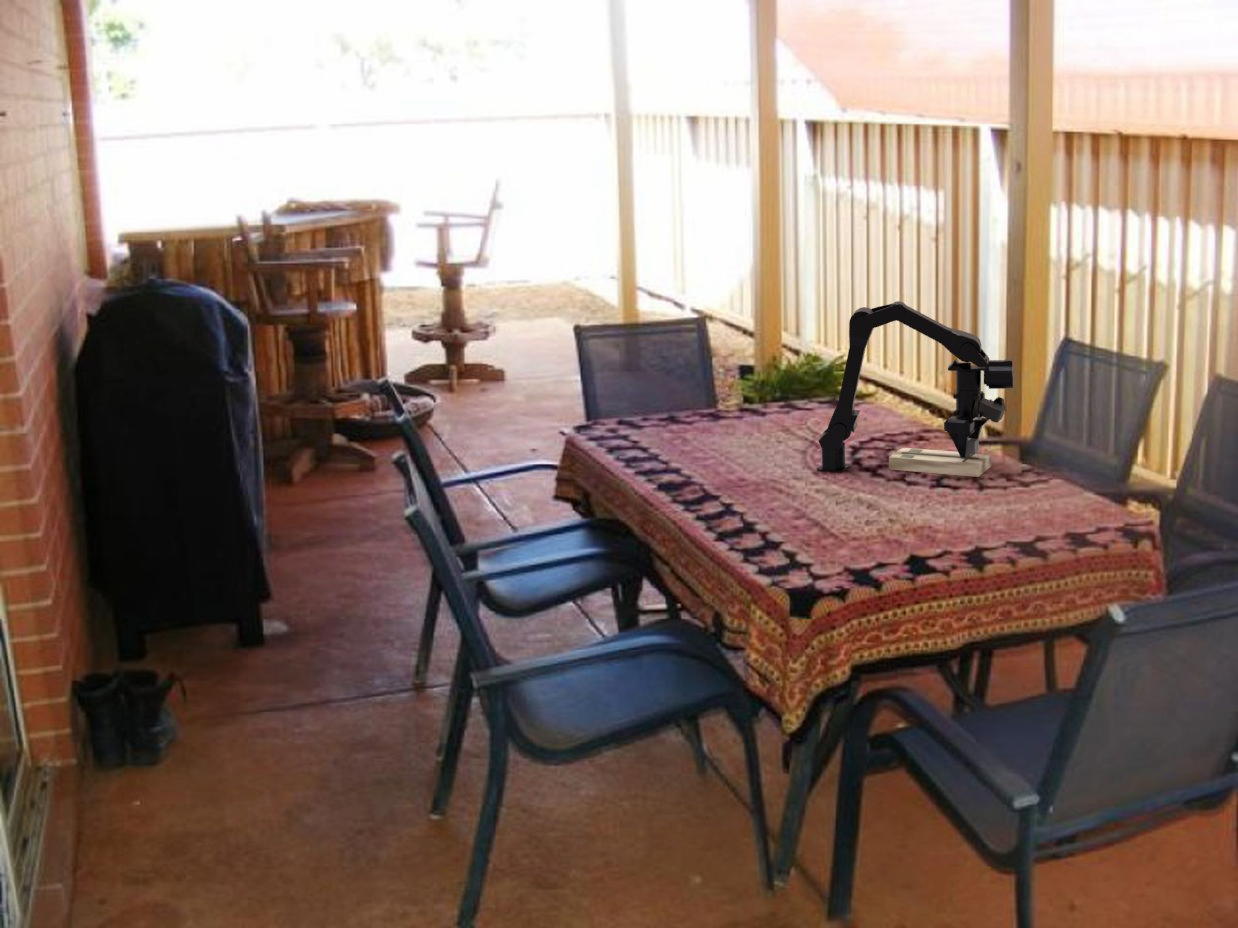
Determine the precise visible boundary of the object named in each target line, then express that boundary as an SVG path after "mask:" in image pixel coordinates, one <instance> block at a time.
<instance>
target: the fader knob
mask: <svg viewBox="0 0 1238 928" xmlns="http://www.w3.org/2000/svg"><path fill="white" fill-rule="evenodd" d="M979 440H980V439H975V438H969V439H968V445H967V452H966V457H971V454H975V453H978V452H979V450H980V449H979V448H980V447H979Z"/></svg>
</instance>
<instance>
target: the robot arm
mask: <svg viewBox="0 0 1238 928" xmlns="http://www.w3.org/2000/svg"><path fill="white" fill-rule="evenodd" d="M896 321H897V322H899V323H901V324H902V325H905V326H907V327H909V328H911V329H913V330H915V331H916V332H918V333H920V334H922V335H924V336H926V337H927V338H930V339H932V340H933V341H935V342H937V343H939V344H941V346H943V347H944V348H945V349H946V350H947V351H948V352H949V353H950V354H951V355H953V356H954V357H956V358H954V359H953V361H952V362H951V363H950V364H949V365H948V367H947V371H948V372H950V371H951V372H955V392H954V393H953V399H955V409H954V410H953V415H952V416H950V417H948V418H947V419H946V420H945V421H944V422H943V431H944V432H946V433H947V434H948V435H949V437H950V439H951V441H952V443H953V445H954V446H955V448H956V450H957V452H958V453H959V455H960V457H966V452H967V445H968V439H969V438H975V439H979V438H980V436H981V431H982V429H983V426H984V425H985V424H986V423H988V421H991V422H993V423H999V422H1000V421H1002V419H1003V416H1004V414H1005V413H1006V411H1007V405H1006V403H1005V398H1003V397H1000V396H998V397H996V398H994V400H993V399H987V398H985V397H986V395H985V393H984V391H982V371H983V385H986V387H988V390H989V389H991V390H992V389H993V390H994V389H995V390H996V389H998V390H1003V389H1004V390H1005V389H1006V390H1008V389H1009V390H1011V389H1012V390H1014V371H1013V370H1014V369H1013V368H1014V367H1013V366H1014V365H1013V364H1014V363H1013V359H1011V358H1010V359H1009V358H1008V359H1002V360H1001V359H998V360H997V359H995V360H992V359H990V357H989V355H987V354H986V352H985V351H984V350H983V348H982V341H981V339H980V337H978V336H977V335H975V334H973V333H970V332H968V331H967V332H966V331H963V330H960V329H955V328H952V327H948V326H946V325H944V324H942V323H941V322H939V321H937V320H935V319H933V318H931V317H930V316H927V315H926V314H924V313H922V312H920V311H918V310H916V309H914V308H912V307H911V306H908V305H907V304H906V303H904V301H900V300H898V301H894V302H892V303H889V304H883V305H880V306H876V307H873V308H872V307H871V308H870V307H867V306H865V307H859V308H857V309H856V310H855V311H854V312H853V313H852V315H851V316H850V319H849V323H848V342H849V344H848V345H849V346H848V347H849V348H848V353H847V358H846V362H845V363H846V364H845V366H844V372H843V377H842V382H841V387H840V392H839V396H838V400H837V403H836V406H835V407H834V408H835V409H834V410H833V413H832V415H831V418H830V421H829V423H828V426H827V428H826V429H825V430H824V431H823V433H822V434H821V436H820V437H819V439H818V443H819V446H820V449H821V465H820V466H819V467H816V471H818V472H829V473H830V472H831V473H840V474H841V473H843V472H844V471H846V470H847V469H849V468H850V467H851V464H849V463H846V443H845V441H846V440H847V439H849V438H850V437H851V434H852V433H855V431H856V429H857V427H858V418H859V415H860V414H861V413H860V412H861V410H858V409H857V410H856V407H855V406H856V405H855V400H856V397H857V396H856V394H857V390H858V386H859V381H860V377H861V373H862V367H863V362H864V359H865V358H864V357H865V353H866V348H867V345H868V343H869V341H870V338H871V336H872V334H873V331H874V329H876V328H878V327H881V326H885V325H886V324H890V323H892V322H896ZM958 359H959V361H958ZM960 361H961V362H960ZM972 364H973V365H972ZM979 440H980V439H979Z"/></svg>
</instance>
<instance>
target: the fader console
mask: <svg viewBox="0 0 1238 928" xmlns="http://www.w3.org/2000/svg"><path fill="white" fill-rule="evenodd" d="M991 467H992V454H991V453H980V452H979V453H978V452H977V453H975V454H971V457H960V455H959V453H958V451H956V450H954V451H952V450H941V449H940V450H939V449H925V448H911V447H902V448H900V449H898V450H897V451H896V452H895V453H893V454H892V455H890V456H888V470H892V471H902V472H904V471H905V472H914V473H915V472H916V473H927V474H928V473H929V474H940V475H941V474H942V475H951V476H953V475H954V476H961V477H962V476H963V477H965V476H967V477H977V478H979V477H980V476H982V474H984V473H985V472H986V471H987V470H989V469H990V468H991Z"/></svg>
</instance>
